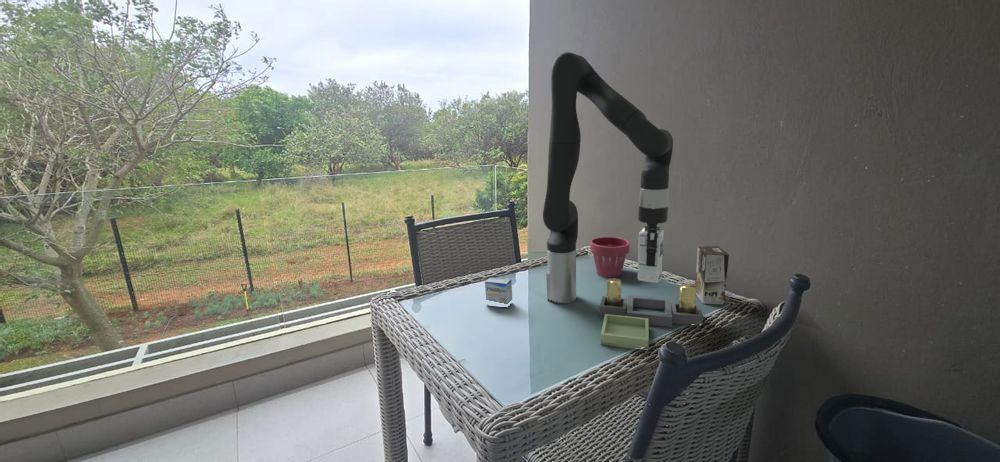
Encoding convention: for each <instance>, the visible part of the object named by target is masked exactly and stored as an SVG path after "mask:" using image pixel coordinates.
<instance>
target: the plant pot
mask: <svg viewBox="0 0 1000 462" xmlns="http://www.w3.org/2000/svg"><path fill="white" fill-rule="evenodd" d="M589 247H590V249H589V251H590V252H591V253H592V255H593V261H594V265H595V269H596V273H597V275H599V276H600V277H603V278H604V277H605V278H617V277H620V276H621V275H622V272H623V268H624V265H625V262H626V257H627V254H629V252H630V241H629V240H627V239H625V238H622V237H616V236H600V237H599V236H598V237H595V238H592V239H591V240H590V245H589ZM619 275H620V276H619Z"/></svg>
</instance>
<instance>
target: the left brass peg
mask: <svg viewBox="0 0 1000 462" xmlns="http://www.w3.org/2000/svg"><path fill="white" fill-rule="evenodd" d="M621 294H622V281H621V279H619V278H616V277H610V278H608V279H607V280H606V296H607V306H616V307H621V298H622V297H621V296H622V295H621Z"/></svg>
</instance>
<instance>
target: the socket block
mask: <svg viewBox="0 0 1000 462" xmlns="http://www.w3.org/2000/svg"><path fill="white" fill-rule="evenodd" d="M634 308H644V309H653V310H663V311H664V313H659V312H657V313H656V312H648V311H639V310H634ZM605 314H611V315H621V316H630V317H640V318H648V326H649V325H650V326H651V325H652V326H658V327H659V326H660V327H668V328H673V324H676V325H684V326H691V325H690V324H697V323H702V324H703V320H704V317H703V316H704V315H703V312H702V309H701V305H700V304H696V303H695V308H694V314H687V313H679V302H674V301H672V302H671V299H670V298H663V297H649V296H640V295H639V296H638V295H630V294H629V295H628V298H627V297H621V307H616V306H607V295H606V296H605V295H603V296H601V301H600V305H599V316H601V317H602V316H603V317H604V316H605Z"/></svg>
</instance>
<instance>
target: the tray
mask: <svg viewBox="0 0 1000 462" xmlns="http://www.w3.org/2000/svg"><path fill="white" fill-rule="evenodd" d="M603 317H604V318H603V322H602V325H601V326H602V328H601V331H600V346H601V345H602V346H610V347H618V348H623V349H624V348H625V349H632V350H636V349H635V348H641V347H648V348H649V342H650V340H649V336H650V335H649V330H650V329H649V324H648V318H640V317H630V316H627V315H626V316H621V315H611V314H605V316H603Z"/></svg>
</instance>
